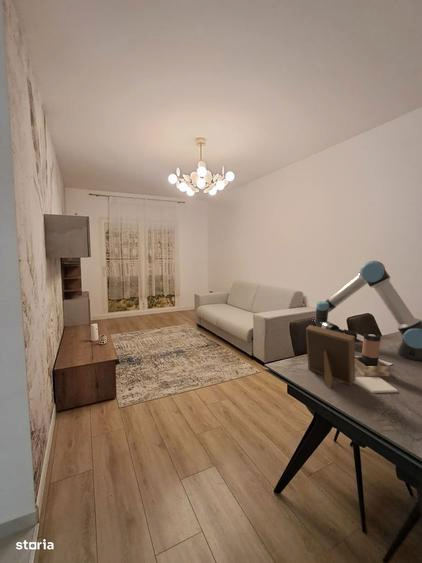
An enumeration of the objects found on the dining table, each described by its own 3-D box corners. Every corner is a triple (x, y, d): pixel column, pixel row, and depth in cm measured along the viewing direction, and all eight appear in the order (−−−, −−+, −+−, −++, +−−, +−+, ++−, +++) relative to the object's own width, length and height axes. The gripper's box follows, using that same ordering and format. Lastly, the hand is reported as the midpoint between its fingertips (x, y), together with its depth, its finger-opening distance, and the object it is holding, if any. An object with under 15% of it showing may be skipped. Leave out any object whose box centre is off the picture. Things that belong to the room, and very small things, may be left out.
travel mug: (379, 374, 133) (383, 337, 130) (363, 372, 135) (367, 336, 132) (373, 367, 140) (377, 332, 138) (358, 366, 142) (361, 331, 139)
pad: (378, 378, 129) (378, 376, 128) (397, 392, 117) (397, 390, 117) (355, 379, 128) (355, 377, 128) (372, 392, 116) (372, 390, 116)
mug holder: (371, 364, 144) (372, 356, 144) (389, 376, 132) (390, 366, 131) (349, 364, 144) (350, 356, 143) (364, 376, 131) (365, 367, 130)
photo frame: (312, 366, 141) (315, 322, 137) (354, 382, 125) (359, 333, 121) (297, 375, 131) (300, 328, 128) (341, 394, 115) (346, 341, 111)
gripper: (346, 333, 169) (373, 345, 149) (313, 335, 163) (336, 349, 143) (347, 322, 168) (374, 333, 148) (314, 324, 162) (338, 336, 142)
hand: (356, 341), depth 145 cm, fingers open, 13 cm apart
